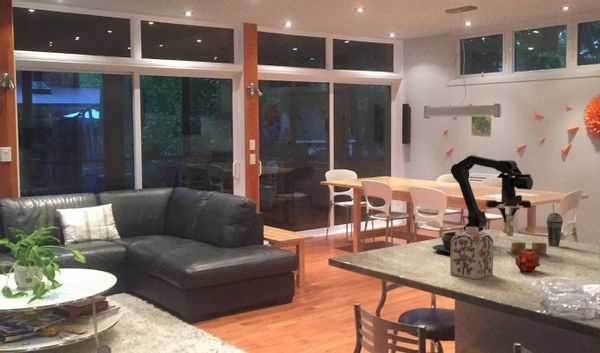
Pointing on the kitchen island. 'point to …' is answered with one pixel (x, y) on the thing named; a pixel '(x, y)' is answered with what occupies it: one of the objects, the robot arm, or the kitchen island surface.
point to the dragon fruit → (527, 261)
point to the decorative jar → (471, 254)
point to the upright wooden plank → (508, 225)
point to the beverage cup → (554, 228)
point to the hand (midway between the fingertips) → (507, 222)
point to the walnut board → (521, 247)
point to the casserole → (445, 242)
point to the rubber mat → (538, 255)
